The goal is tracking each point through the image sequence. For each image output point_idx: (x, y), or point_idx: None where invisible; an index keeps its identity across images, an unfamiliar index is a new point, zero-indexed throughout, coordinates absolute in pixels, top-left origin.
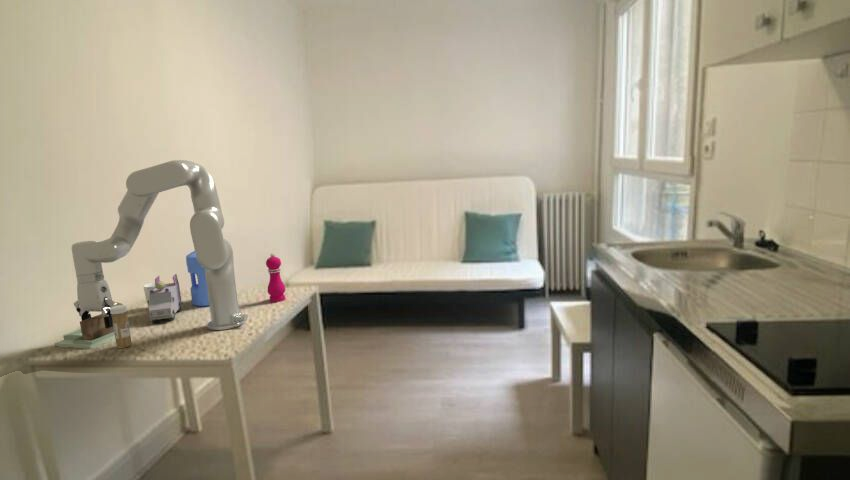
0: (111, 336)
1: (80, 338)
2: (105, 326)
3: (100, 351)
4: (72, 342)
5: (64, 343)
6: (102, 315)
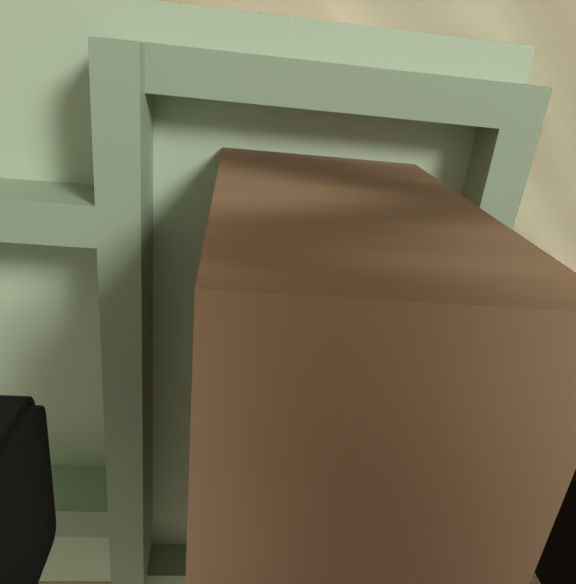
0: None
1: (148, 537)
2: (546, 573)
3: (533, 580)
4: (78, 543)
5: None
6: (388, 570)
